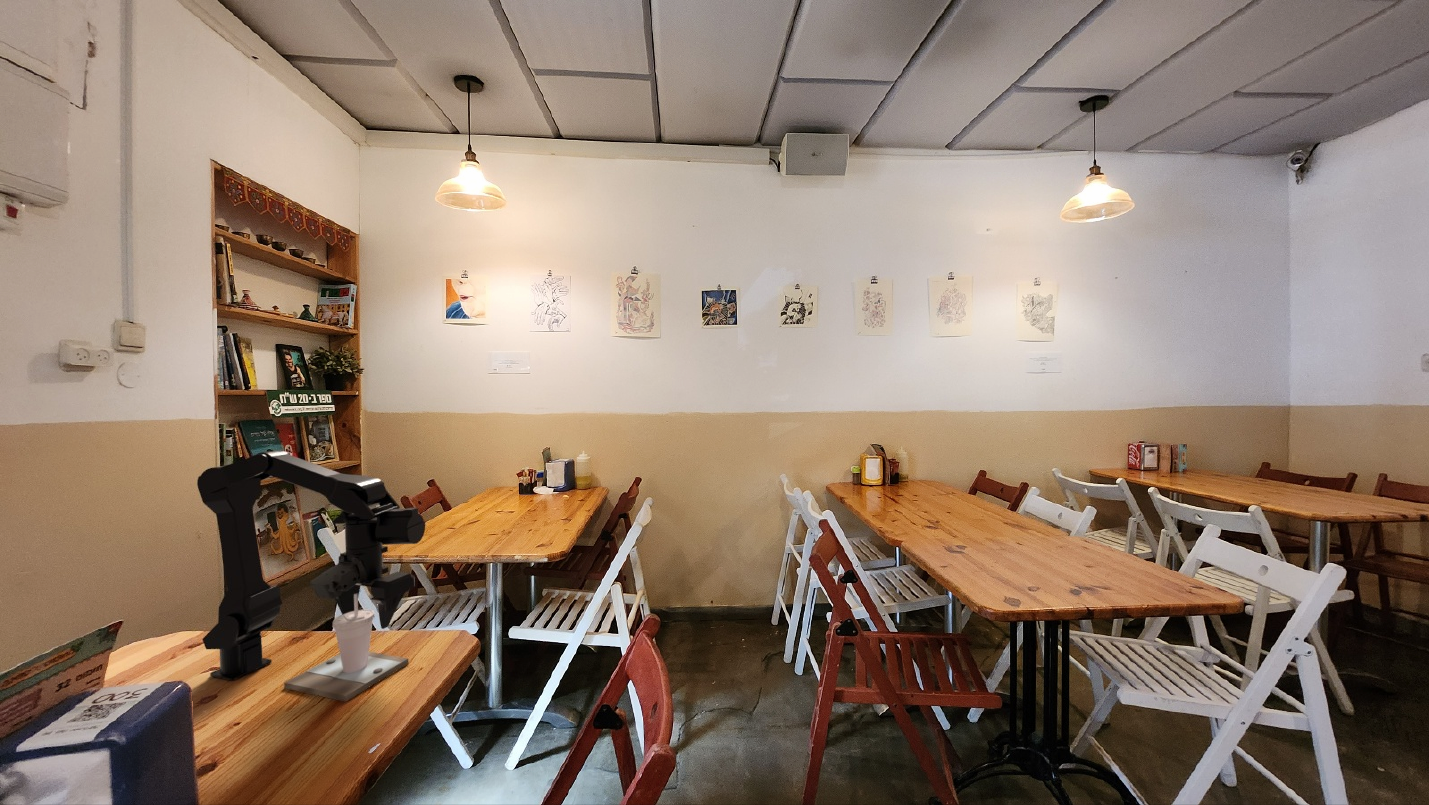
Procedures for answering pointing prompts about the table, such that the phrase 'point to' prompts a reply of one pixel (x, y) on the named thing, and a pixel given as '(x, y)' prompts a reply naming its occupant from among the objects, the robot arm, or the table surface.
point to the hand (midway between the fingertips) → (366, 625)
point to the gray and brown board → (344, 677)
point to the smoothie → (354, 637)
